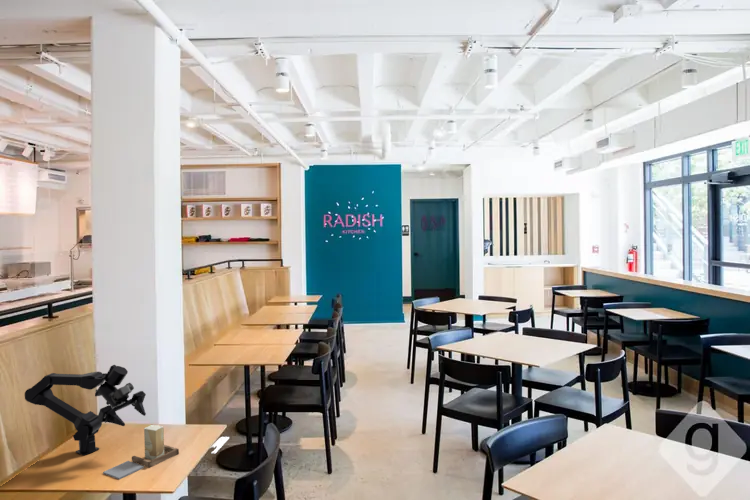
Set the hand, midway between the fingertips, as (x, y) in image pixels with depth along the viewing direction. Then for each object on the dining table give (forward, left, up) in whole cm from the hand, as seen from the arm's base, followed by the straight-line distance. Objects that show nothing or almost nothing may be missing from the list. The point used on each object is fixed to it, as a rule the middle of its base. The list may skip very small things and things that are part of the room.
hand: (135, 420), depth 197 cm
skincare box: (+7, +3, -15) cm, 17 cm away
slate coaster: (+6, -9, -15) cm, 19 cm away
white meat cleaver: (+21, +22, -16) cm, 34 cm away
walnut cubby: (+7, +3, -15) cm, 17 cm away
